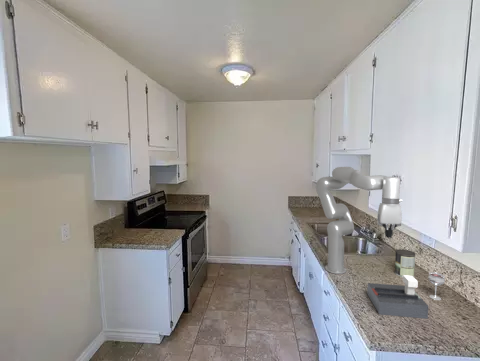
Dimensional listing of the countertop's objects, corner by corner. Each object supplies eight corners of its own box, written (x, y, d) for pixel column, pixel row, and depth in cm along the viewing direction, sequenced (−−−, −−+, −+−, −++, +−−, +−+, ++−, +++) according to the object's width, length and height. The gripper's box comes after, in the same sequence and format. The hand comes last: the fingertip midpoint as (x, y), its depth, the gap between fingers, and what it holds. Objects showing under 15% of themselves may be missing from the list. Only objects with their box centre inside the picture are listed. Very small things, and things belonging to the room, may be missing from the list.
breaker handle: (402, 290, 129) (402, 275, 128) (411, 291, 128) (411, 275, 127) (407, 297, 123) (408, 280, 122) (417, 297, 122) (417, 281, 121)
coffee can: (391, 273, 162) (392, 251, 160) (399, 269, 167) (400, 248, 166) (409, 280, 153) (410, 256, 152) (417, 275, 158) (418, 253, 157)
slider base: (367, 294, 138) (367, 281, 137) (409, 297, 134) (409, 284, 133) (379, 314, 120) (379, 299, 119) (427, 318, 116) (428, 303, 116)
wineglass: (442, 302, 129) (444, 279, 128) (426, 297, 134) (427, 275, 133) (444, 297, 134) (445, 274, 133) (428, 292, 139) (429, 270, 137)
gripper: (403, 200, 134) (401, 235, 136) (371, 199, 136) (370, 234, 138) (410, 203, 127) (408, 240, 128) (376, 202, 129) (375, 238, 131)
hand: (388, 237), depth 133 cm, fingers closed
